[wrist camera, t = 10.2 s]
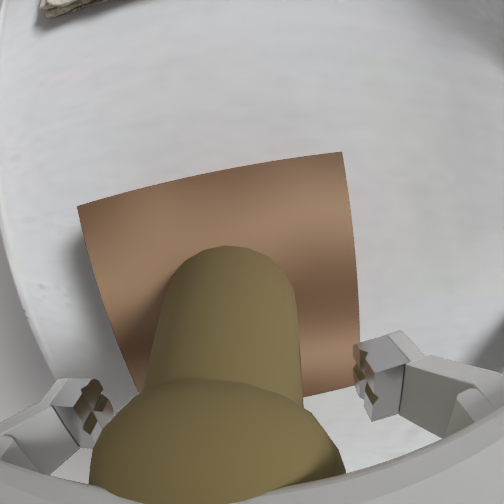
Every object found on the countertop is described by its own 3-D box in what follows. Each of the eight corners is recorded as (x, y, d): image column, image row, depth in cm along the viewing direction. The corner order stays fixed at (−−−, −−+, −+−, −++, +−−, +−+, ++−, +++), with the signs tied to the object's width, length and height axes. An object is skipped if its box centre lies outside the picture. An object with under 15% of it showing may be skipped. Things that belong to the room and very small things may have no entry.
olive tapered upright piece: (174, 366, 14) (116, 570, 4) (156, 248, 13) (-21, 430, 2) (295, 362, 15) (350, 573, 4) (297, 242, 13) (446, 445, 2)
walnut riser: (116, 197, 17) (76, 206, 12) (315, 157, 17) (342, 151, 12) (166, 368, 20) (149, 414, 15) (336, 340, 20) (360, 383, 15)
